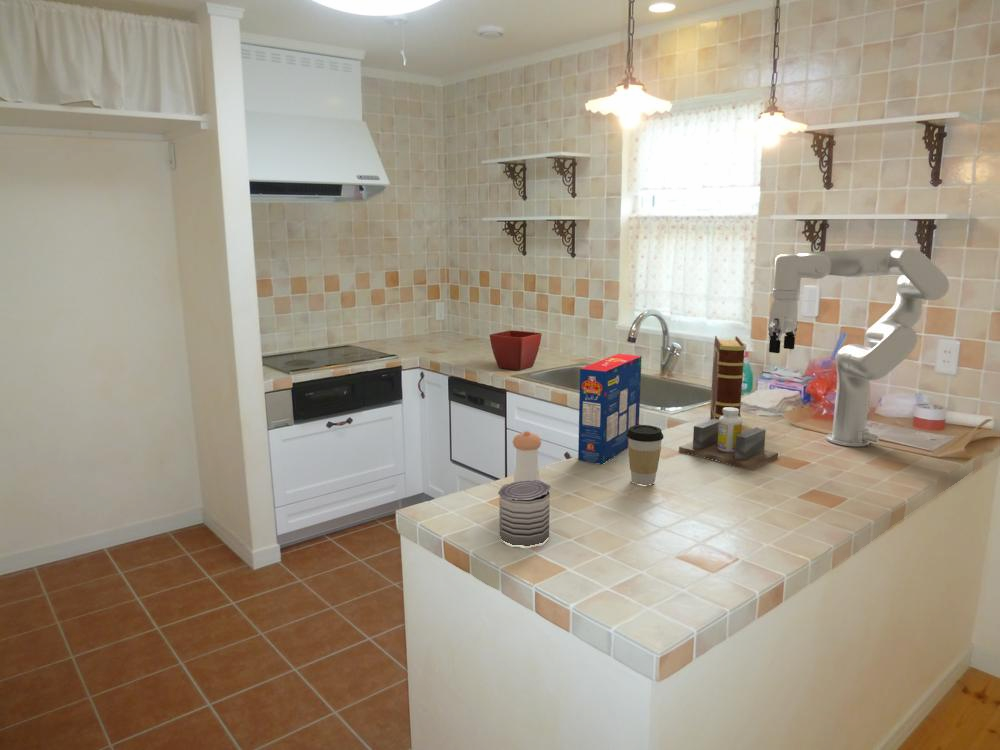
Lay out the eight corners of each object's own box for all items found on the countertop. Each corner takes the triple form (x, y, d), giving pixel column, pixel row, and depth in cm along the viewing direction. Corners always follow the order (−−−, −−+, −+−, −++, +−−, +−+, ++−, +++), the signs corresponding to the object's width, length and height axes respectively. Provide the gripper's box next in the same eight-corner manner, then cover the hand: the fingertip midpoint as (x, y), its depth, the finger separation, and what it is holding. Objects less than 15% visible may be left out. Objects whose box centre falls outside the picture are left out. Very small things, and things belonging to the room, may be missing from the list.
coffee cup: (664, 479, 194) (667, 426, 191) (657, 491, 185) (659, 436, 182) (629, 473, 198) (631, 422, 195) (620, 485, 189) (622, 432, 186)
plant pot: (510, 362, 360) (510, 329, 357) (542, 366, 349) (542, 332, 346) (488, 368, 345) (488, 334, 341) (521, 373, 334) (521, 337, 330)
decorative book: (740, 435, 234) (746, 346, 227) (715, 434, 235) (720, 345, 229) (732, 417, 255) (737, 335, 249) (709, 416, 257) (714, 335, 251)
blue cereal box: (615, 436, 233) (618, 353, 227) (638, 440, 229) (641, 356, 223) (578, 460, 210) (580, 368, 204) (602, 464, 206) (605, 371, 200)
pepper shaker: (521, 512, 172) (521, 437, 168) (507, 502, 178) (507, 429, 174) (546, 506, 175) (547, 433, 171) (532, 497, 182) (532, 425, 178)
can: (546, 550, 152) (547, 498, 149) (494, 547, 154) (494, 495, 151) (552, 528, 163) (552, 479, 160) (503, 525, 165) (503, 477, 162)
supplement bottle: (740, 447, 216) (742, 407, 213) (739, 454, 210) (742, 412, 207) (717, 445, 218) (719, 405, 216) (716, 451, 212) (719, 410, 210)
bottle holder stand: (777, 457, 211) (780, 430, 209) (751, 470, 200) (753, 441, 199) (706, 440, 228) (707, 415, 227) (678, 451, 218) (680, 425, 216)
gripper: (786, 292, 223) (782, 346, 226) (760, 296, 211) (756, 352, 215) (810, 294, 217) (805, 348, 221) (785, 298, 206) (780, 355, 209)
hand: (781, 350), depth 218 cm, fingers open, 9 cm apart
